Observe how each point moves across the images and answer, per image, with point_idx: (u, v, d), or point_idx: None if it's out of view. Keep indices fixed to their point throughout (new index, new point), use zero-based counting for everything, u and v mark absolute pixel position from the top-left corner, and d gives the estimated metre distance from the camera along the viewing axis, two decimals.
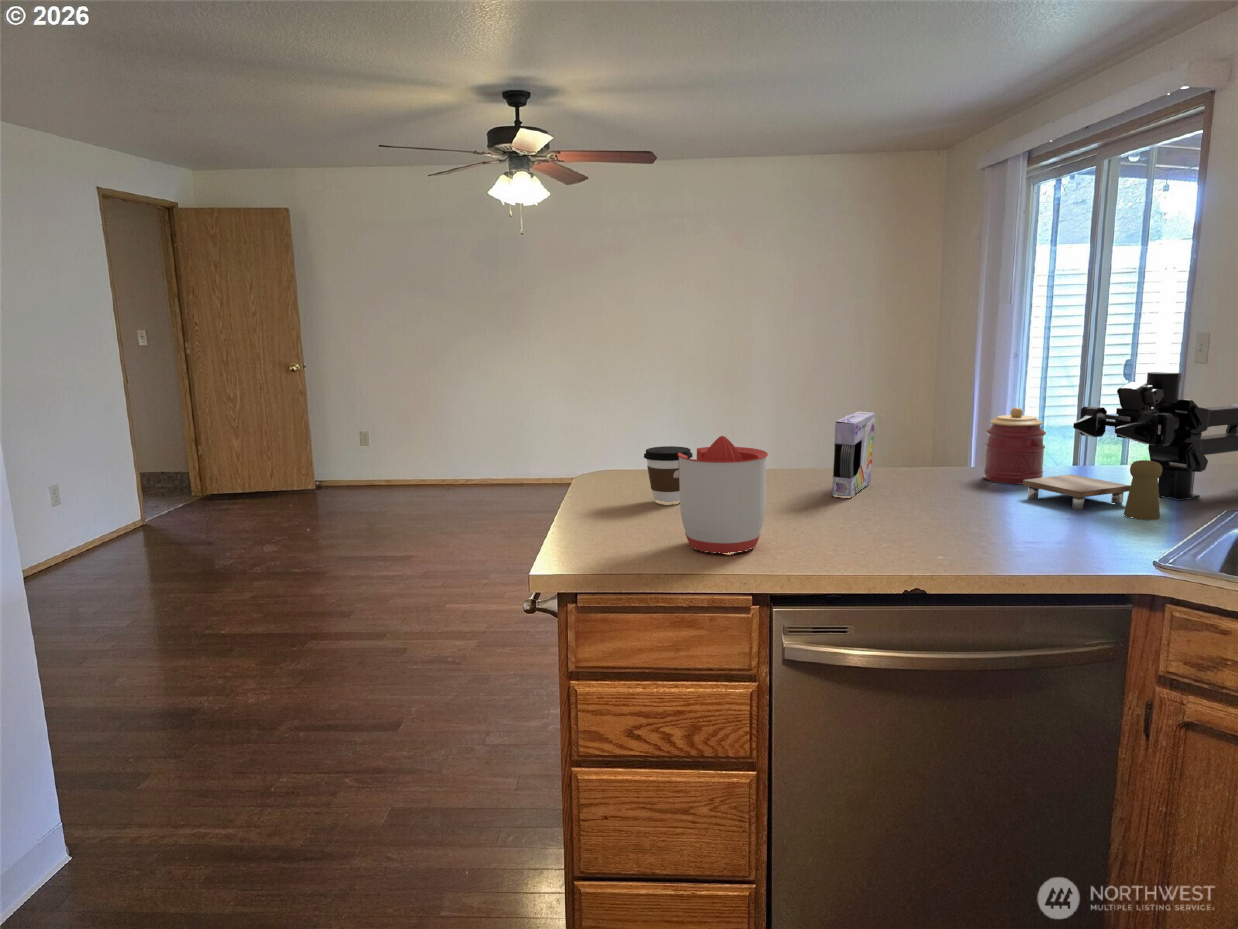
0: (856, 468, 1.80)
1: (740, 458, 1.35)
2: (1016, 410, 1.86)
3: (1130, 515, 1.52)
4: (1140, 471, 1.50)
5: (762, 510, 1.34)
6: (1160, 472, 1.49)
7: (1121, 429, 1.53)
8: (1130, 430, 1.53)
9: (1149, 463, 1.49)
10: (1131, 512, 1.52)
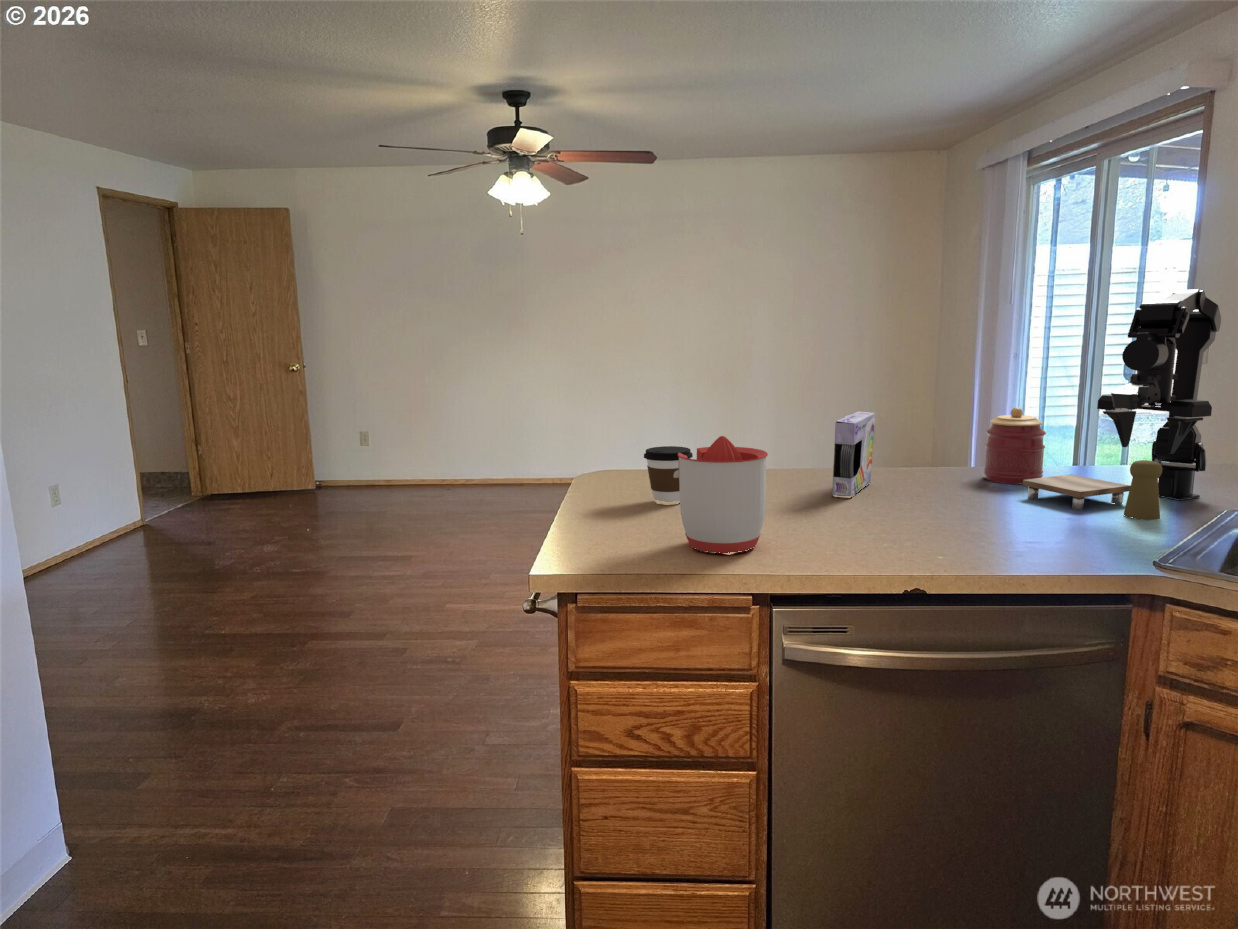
0: (856, 468, 1.80)
1: (740, 458, 1.35)
2: (1016, 410, 1.86)
3: (1130, 515, 1.52)
4: (1140, 471, 1.50)
5: (762, 510, 1.34)
6: (1160, 472, 1.49)
7: (1173, 448, 1.46)
8: (1178, 439, 1.45)
9: (1149, 463, 1.49)
10: (1131, 512, 1.52)
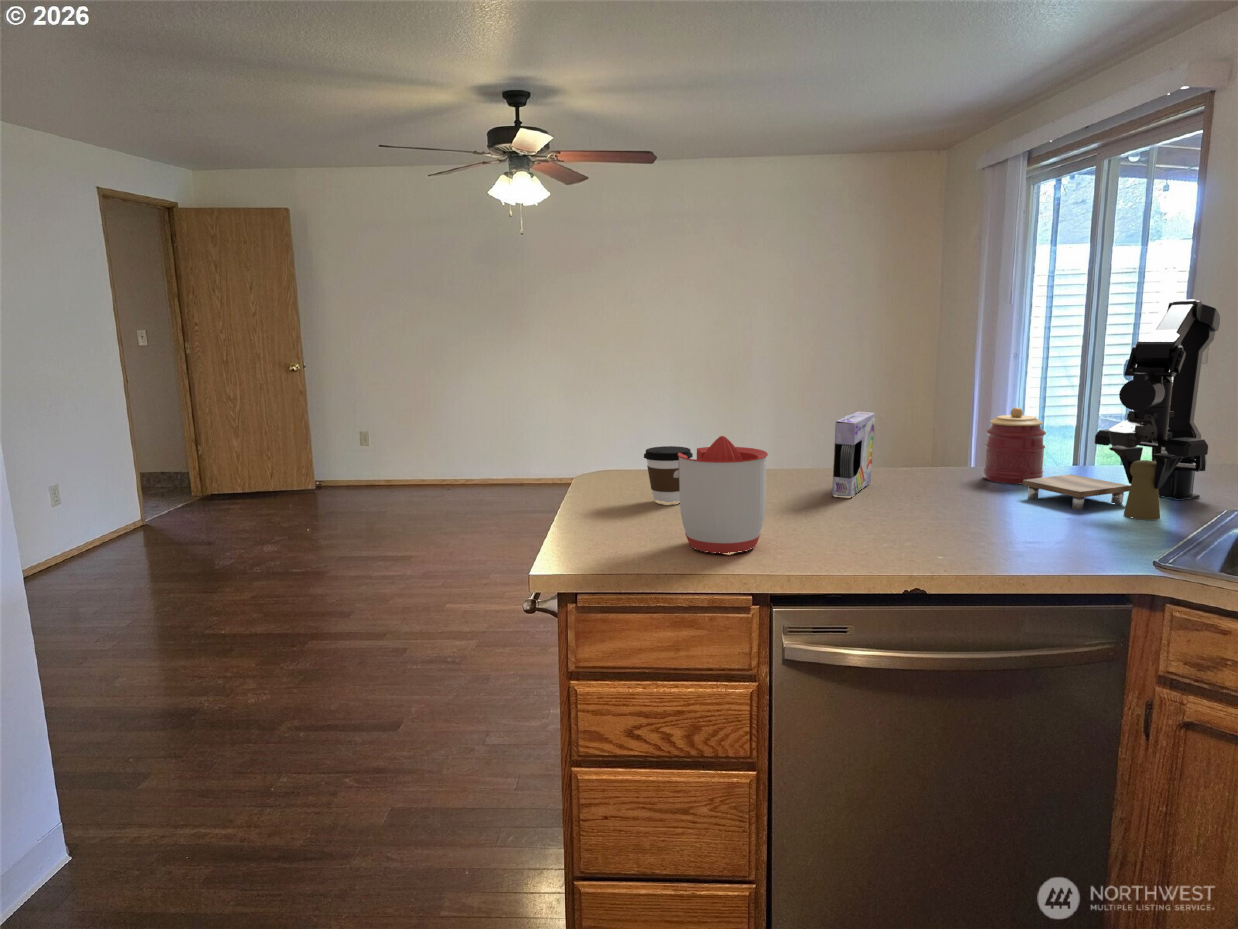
0: (856, 468, 1.80)
1: (740, 458, 1.35)
2: (1016, 410, 1.86)
3: (1130, 515, 1.52)
4: (1140, 471, 1.50)
5: (762, 510, 1.34)
6: None
7: (1159, 484, 1.49)
8: (1164, 475, 1.48)
9: (1149, 463, 1.49)
10: (1131, 511, 1.52)
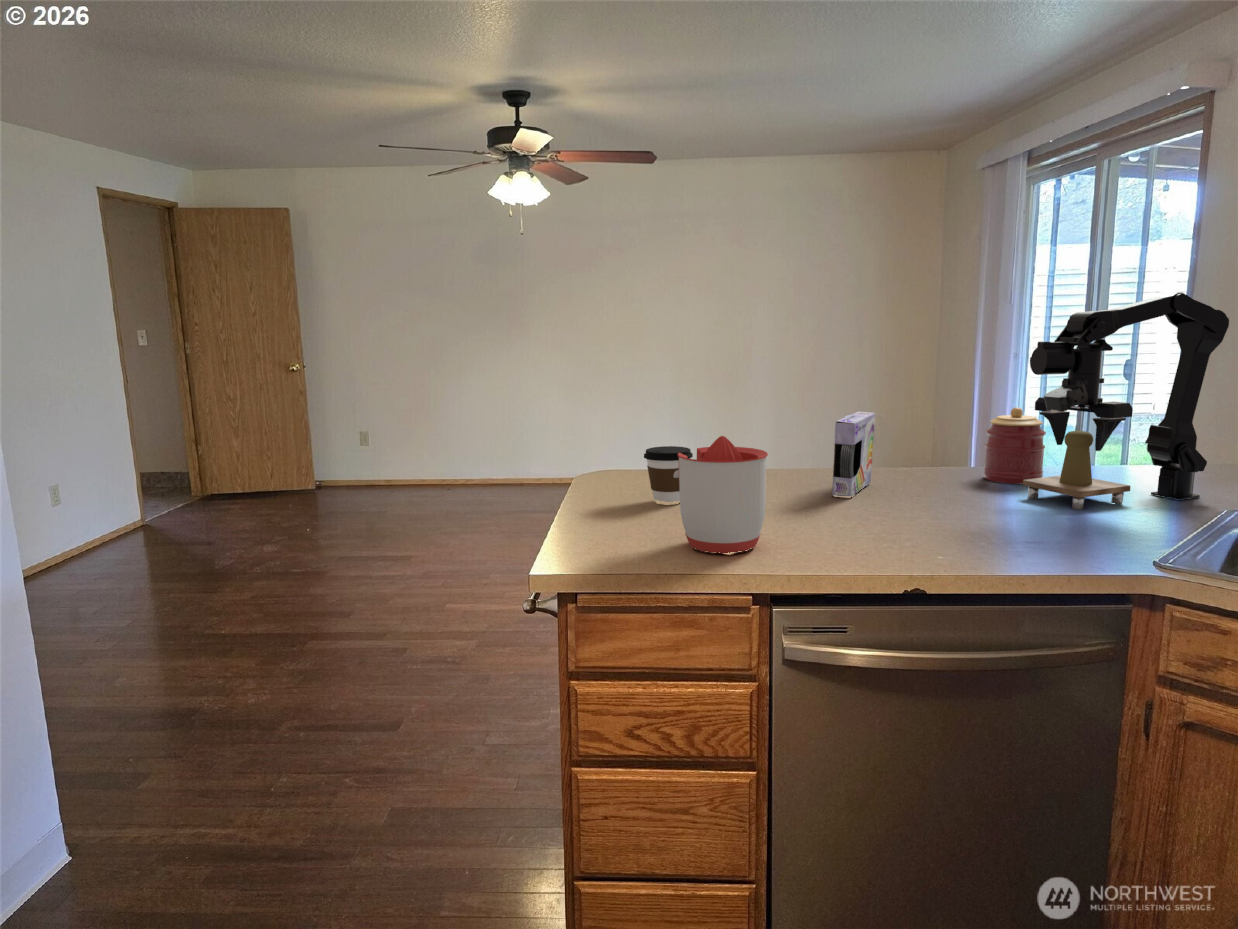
0: (856, 468, 1.80)
1: (740, 458, 1.35)
2: (1016, 410, 1.86)
3: (1065, 481, 1.65)
4: (1073, 441, 1.63)
5: (762, 510, 1.34)
6: (1091, 441, 1.62)
7: (1099, 446, 1.60)
8: (1103, 438, 1.59)
9: (1081, 433, 1.63)
10: (1066, 478, 1.65)
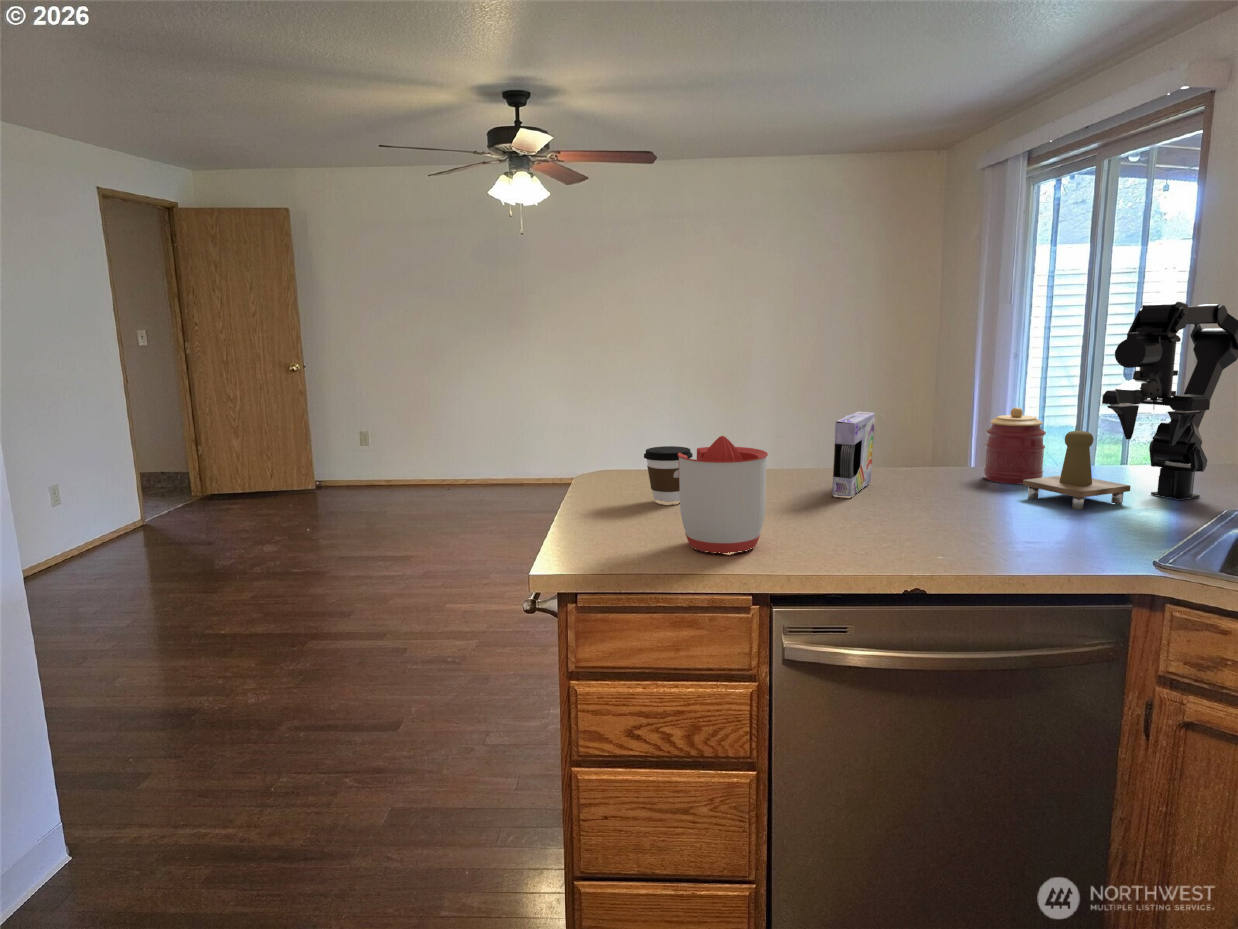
0: (856, 468, 1.80)
1: (740, 458, 1.35)
2: (1016, 410, 1.86)
3: (1065, 481, 1.65)
4: (1073, 441, 1.63)
5: (762, 510, 1.34)
6: (1091, 441, 1.62)
7: (1174, 440, 1.55)
8: (1178, 432, 1.55)
9: (1081, 433, 1.62)
10: (1066, 478, 1.65)
